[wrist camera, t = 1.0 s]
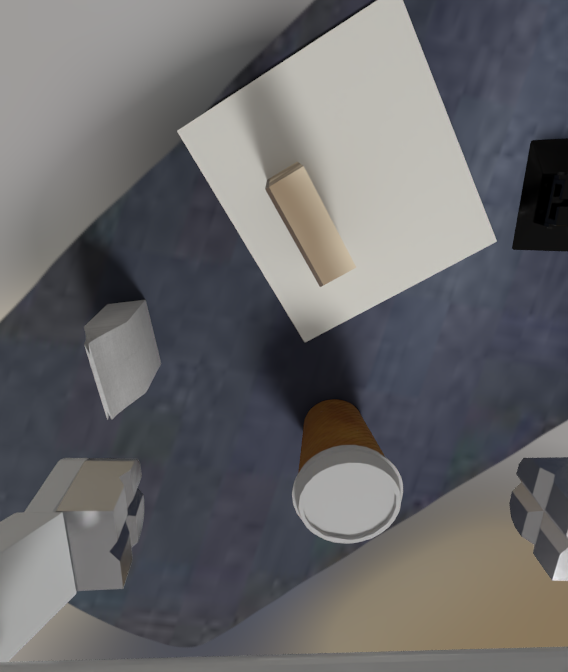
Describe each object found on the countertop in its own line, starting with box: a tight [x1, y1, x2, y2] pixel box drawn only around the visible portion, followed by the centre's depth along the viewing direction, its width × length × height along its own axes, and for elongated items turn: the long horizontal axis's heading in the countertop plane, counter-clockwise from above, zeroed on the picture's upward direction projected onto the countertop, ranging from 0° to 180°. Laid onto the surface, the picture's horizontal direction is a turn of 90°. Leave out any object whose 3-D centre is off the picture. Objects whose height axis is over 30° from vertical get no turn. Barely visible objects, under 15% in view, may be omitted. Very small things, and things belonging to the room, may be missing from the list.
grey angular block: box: [84, 300, 161, 420], centre depth 41 cm, size 4×7×10 cm, turn 7°
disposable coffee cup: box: [292, 399, 403, 543], centre depth 44 cm, size 10×10×12 cm
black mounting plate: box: [512, 139, 568, 251], centre depth 40 cm, size 12×7×5 cm, turn 0°
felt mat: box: [177, 0, 497, 342], centre depth 40 cm, size 20×22×1 cm
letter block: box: [265, 162, 356, 287], centre depth 37 cm, size 3×8×9 cm, turn 30°
